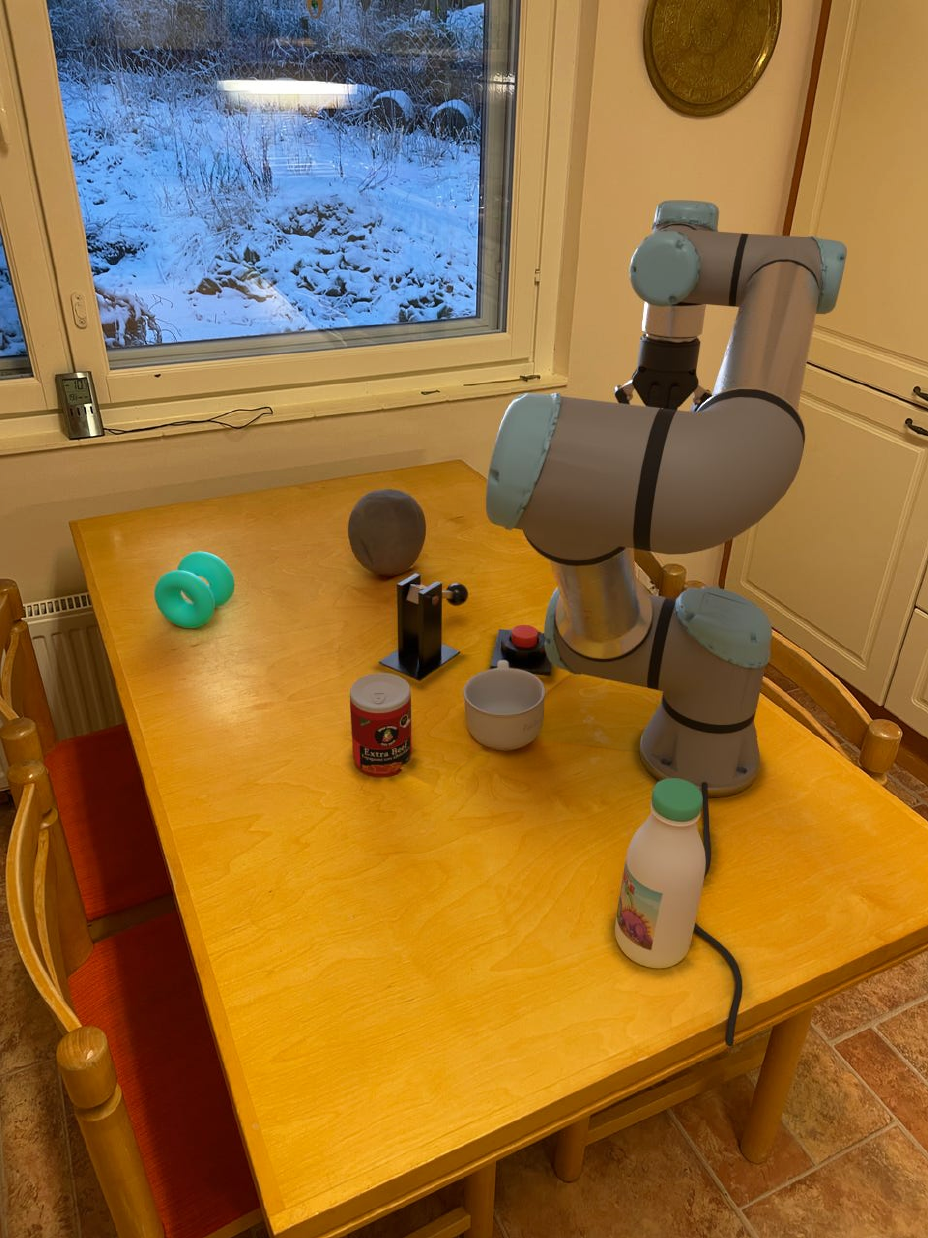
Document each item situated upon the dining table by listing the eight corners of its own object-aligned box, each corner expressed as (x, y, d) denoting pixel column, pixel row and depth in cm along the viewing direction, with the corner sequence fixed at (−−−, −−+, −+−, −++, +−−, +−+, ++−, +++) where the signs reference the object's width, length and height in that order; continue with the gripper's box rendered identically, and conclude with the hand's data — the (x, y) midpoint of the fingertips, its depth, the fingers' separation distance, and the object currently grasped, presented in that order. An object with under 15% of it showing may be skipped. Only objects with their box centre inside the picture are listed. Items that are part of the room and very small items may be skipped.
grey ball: (438, 580, 162) (438, 503, 154) (361, 593, 157) (358, 514, 149) (412, 548, 173) (411, 474, 165) (340, 559, 168) (336, 483, 161)
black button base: (549, 681, 135) (551, 661, 133) (490, 675, 136) (490, 655, 134) (554, 643, 144) (555, 624, 142) (498, 637, 145) (499, 619, 143)
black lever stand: (420, 641, 144) (419, 563, 137) (460, 657, 140) (462, 578, 133) (378, 668, 137) (376, 587, 130) (419, 686, 133) (419, 604, 126)
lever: (450, 601, 143) (456, 580, 143) (469, 608, 142) (475, 586, 141) (401, 602, 132) (407, 578, 132) (420, 609, 130) (426, 586, 130)
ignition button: (536, 649, 136) (537, 639, 135) (509, 647, 137) (510, 636, 136) (538, 636, 140) (539, 625, 139) (512, 633, 140) (513, 623, 139)
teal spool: (155, 626, 146) (146, 571, 141) (186, 597, 154) (178, 545, 149) (212, 635, 144) (205, 580, 139) (240, 605, 152) (234, 552, 147)
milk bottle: (679, 910, 97) (708, 765, 87) (697, 970, 91) (731, 820, 81) (608, 911, 97) (629, 765, 87) (621, 972, 90) (645, 821, 80)
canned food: (358, 783, 114) (355, 712, 108) (348, 745, 121) (344, 676, 115) (417, 773, 116) (417, 703, 110) (404, 736, 122) (403, 668, 117)
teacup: (536, 767, 117) (540, 717, 113) (454, 755, 119) (455, 706, 115) (549, 706, 129) (553, 659, 125) (474, 696, 131) (476, 649, 127)
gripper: (719, 331, 117) (692, 501, 129) (617, 326, 118) (600, 495, 130) (727, 344, 110) (698, 522, 122) (620, 339, 112) (601, 516, 123)
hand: (647, 508), depth 126 cm, fingers closed
